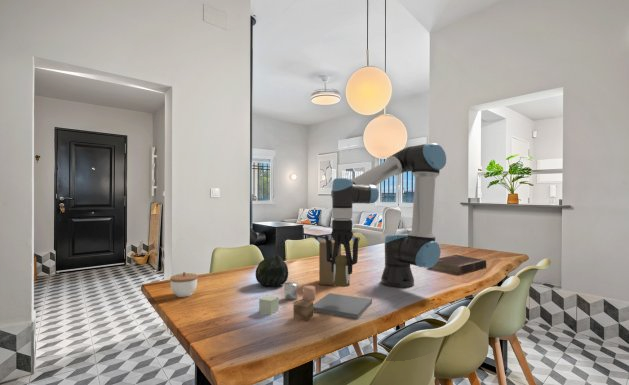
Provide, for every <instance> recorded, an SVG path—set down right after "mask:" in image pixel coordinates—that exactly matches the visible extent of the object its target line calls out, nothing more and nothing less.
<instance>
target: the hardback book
mask: <svg viewBox="0 0 629 385" xmlns="http://www.w3.org/2000/svg"><path fill="white" fill-rule="evenodd" d="M485 268H487V260H485V259H481V258H475V257H470V256H465V255H458V254H454V255H448V256H443V257H440V258H439V260H438V262H437V263H436V264H435V265H434V266H432V267H430V268H428V269H430V270H434V271H439V272H444V273H448V274H452V275H458V276H459V275H464V274H467V273H471V272H475V271H478V270H481V269H485Z"/></svg>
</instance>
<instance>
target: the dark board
mask: <svg viewBox="0 0 629 385" xmlns="http://www.w3.org/2000/svg"><path fill="white" fill-rule="evenodd" d="M372 304H373V299H372V298H366V297H359V296H352V295H346V294H338V293H331V292H329V293H327V294H326V295H324V296H323V297H322V298H320V299H319V300H317V301H315V302H313V313H314V312H315V313H319V314H320V313H321V314H325V315H326V314H327V315H332V316H339V317H343V318H344V317H345V318H350V319H356V320H358V319H359V318H360V317H361V316H362V315H363V314H364V312H366V311H367V309H368V308H369V307H370V306H371V305H372Z"/></svg>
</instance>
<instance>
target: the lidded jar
mask: <svg viewBox="0 0 629 385" xmlns="http://www.w3.org/2000/svg"><path fill="white" fill-rule="evenodd" d="M198 278H199V276H198V274H197V273H192V272H191V273H190V272H189V273H187V272H185V271H183V272H182V273H180V274H179V273H178V274H175V275H172V276H170V288H171V291H172V293H173V294H174V296H175V295H176V297H178V298H185V297H189V296H192V295H193V293H194V292H195V291H196V289H197V287H198Z"/></svg>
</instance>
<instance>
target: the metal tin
mask: <svg viewBox="0 0 629 385" xmlns="http://www.w3.org/2000/svg"><path fill="white" fill-rule="evenodd" d="M284 300H286V301H288V302H293V301H296V300H298V282H294V281H293V282H292V281H291V282H290V281H288V282H285V283H284Z"/></svg>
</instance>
